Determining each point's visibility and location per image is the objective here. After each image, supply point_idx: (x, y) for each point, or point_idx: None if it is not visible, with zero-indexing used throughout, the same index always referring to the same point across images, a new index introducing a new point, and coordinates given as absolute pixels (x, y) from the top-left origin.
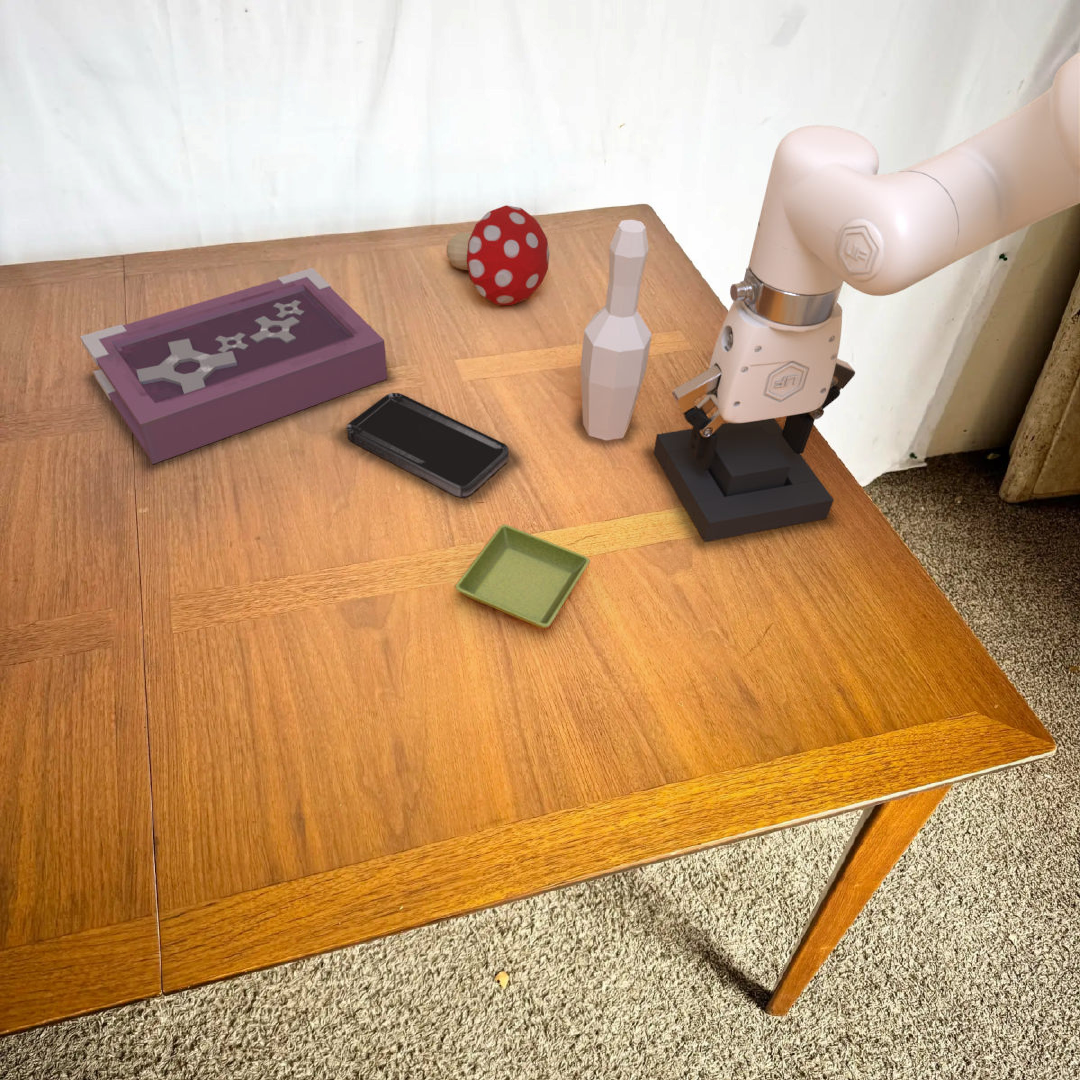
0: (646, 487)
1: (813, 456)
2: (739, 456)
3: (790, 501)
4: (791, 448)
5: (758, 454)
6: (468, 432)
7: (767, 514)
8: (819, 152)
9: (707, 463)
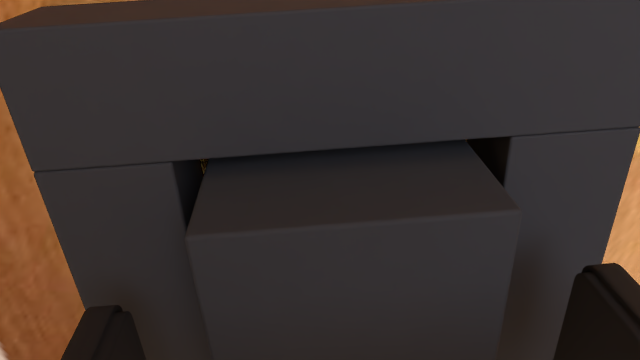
0: (619, 249)
1: (27, 305)
2: (415, 316)
3: (220, 58)
4: (138, 336)
5: (321, 318)
6: None
7: (361, 2)
8: None
9: (636, 289)
